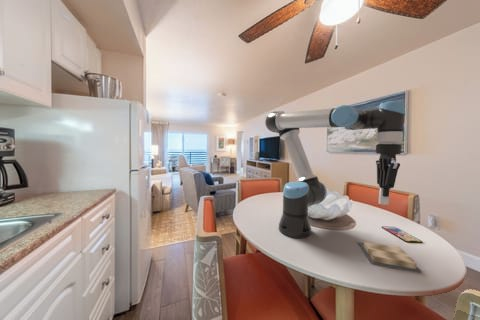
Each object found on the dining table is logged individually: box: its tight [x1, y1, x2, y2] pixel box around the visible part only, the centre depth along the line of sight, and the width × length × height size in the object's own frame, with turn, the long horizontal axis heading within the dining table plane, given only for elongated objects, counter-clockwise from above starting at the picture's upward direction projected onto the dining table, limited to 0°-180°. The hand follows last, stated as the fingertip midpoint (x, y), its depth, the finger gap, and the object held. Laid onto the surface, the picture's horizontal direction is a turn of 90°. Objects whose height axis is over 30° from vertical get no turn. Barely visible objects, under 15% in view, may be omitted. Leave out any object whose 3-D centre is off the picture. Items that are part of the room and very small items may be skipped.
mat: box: [357, 241, 422, 273], centre depth 67 cm, size 14×14×1 cm
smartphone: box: [381, 225, 423, 244], centre depth 84 cm, size 7×1×15 cm
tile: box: [363, 241, 418, 269], centre depth 65 cm, size 12×2×10 cm
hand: (383, 203), depth 69 cm, fingers closed
